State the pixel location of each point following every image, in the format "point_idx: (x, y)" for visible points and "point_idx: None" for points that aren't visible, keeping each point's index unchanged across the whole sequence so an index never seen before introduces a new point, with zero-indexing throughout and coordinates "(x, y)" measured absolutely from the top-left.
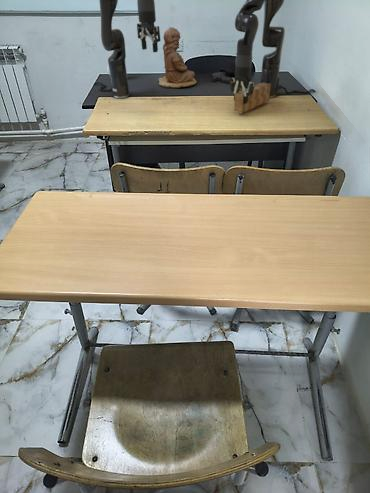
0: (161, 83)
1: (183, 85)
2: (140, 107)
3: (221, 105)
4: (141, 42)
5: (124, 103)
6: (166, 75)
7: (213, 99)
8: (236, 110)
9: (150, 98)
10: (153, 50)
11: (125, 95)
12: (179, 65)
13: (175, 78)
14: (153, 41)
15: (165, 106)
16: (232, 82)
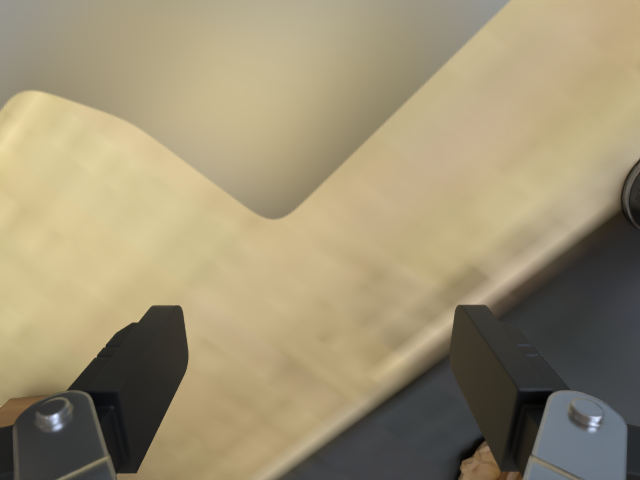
0: None
1: (474, 460)
2: (435, 154)
3: (180, 417)
4: (556, 377)
5: (561, 127)
6: None
7: (261, 440)
8: (34, 399)
9: (498, 273)
10: (154, 314)
11: (633, 190)
12: None
13: None
14: (27, 419)
15: (346, 254)
16: None
